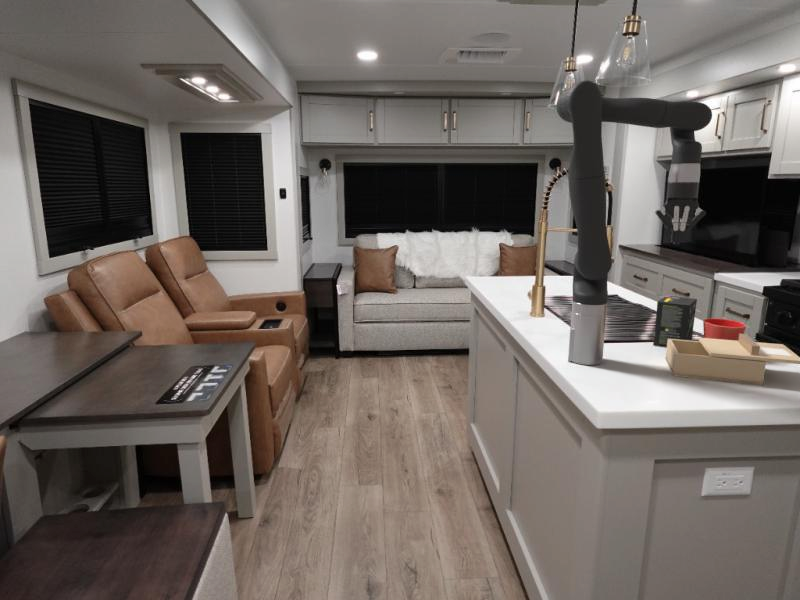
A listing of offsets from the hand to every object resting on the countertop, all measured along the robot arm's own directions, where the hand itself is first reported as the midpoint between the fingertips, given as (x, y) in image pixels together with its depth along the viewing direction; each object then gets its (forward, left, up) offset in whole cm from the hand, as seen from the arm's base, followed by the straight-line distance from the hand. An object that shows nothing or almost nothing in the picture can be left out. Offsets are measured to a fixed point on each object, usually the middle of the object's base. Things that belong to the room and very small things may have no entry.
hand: (676, 244), depth 144 cm
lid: (+18, -10, -27) cm, 34 cm away
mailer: (+10, -10, -33) cm, 36 cm away
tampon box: (+4, +14, -33) cm, 36 cm away
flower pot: (+16, +8, -33) cm, 38 cm away
